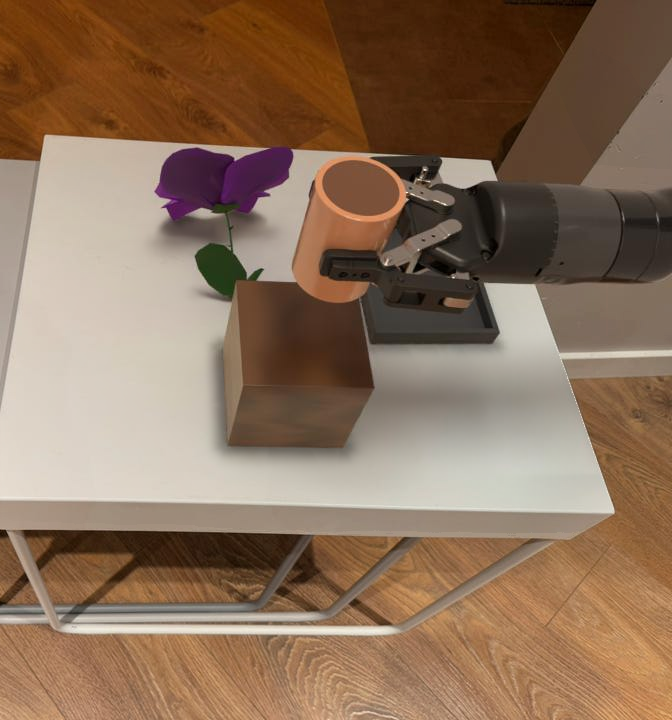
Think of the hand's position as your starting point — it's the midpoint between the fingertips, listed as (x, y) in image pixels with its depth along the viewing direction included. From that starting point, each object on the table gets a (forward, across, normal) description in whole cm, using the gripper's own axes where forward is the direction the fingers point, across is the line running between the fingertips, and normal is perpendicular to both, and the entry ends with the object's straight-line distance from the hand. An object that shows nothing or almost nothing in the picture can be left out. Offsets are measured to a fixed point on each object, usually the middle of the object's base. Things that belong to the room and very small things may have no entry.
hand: (316, 226), depth 56 cm
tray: (-18, -14, +23) cm, 32 cm away
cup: (-2, 0, +5) cm, 6 cm away
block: (-1, +1, +23) cm, 23 cm away
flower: (+4, -17, +23) cm, 29 cm away
